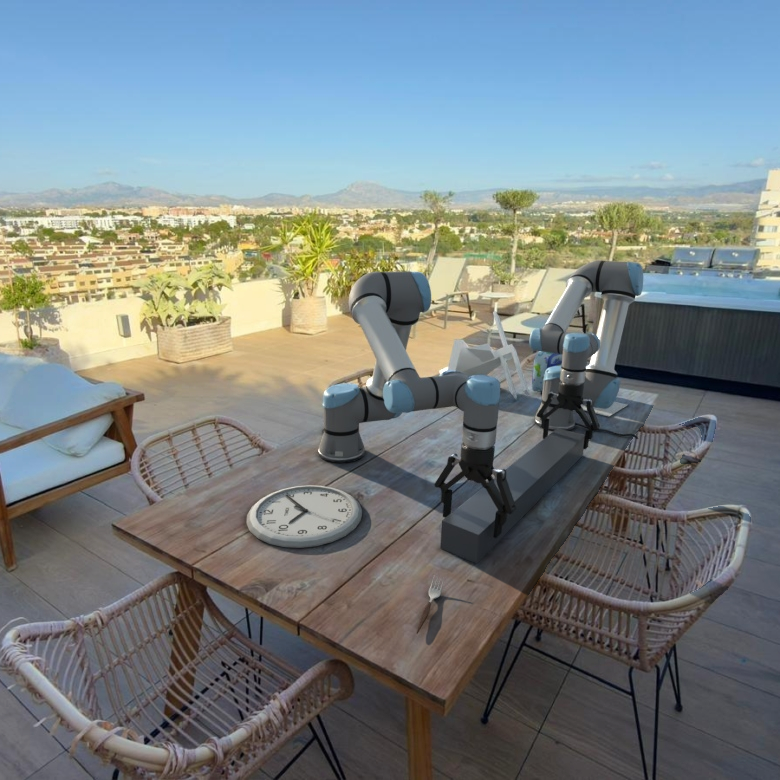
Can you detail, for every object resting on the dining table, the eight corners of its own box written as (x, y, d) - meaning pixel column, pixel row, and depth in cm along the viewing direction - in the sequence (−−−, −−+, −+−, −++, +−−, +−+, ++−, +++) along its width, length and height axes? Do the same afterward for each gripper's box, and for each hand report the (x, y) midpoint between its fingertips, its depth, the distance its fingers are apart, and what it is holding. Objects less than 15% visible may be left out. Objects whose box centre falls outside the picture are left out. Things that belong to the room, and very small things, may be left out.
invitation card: (608, 416, 214) (573, 407, 224) (608, 416, 214) (573, 408, 224) (628, 404, 229) (594, 396, 238) (628, 405, 229) (594, 397, 238)
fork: (410, 633, 98) (410, 625, 97) (432, 582, 112) (433, 574, 112) (423, 637, 97) (423, 628, 96) (444, 585, 111) (445, 577, 111)
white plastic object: (461, 429, 252) (437, 405, 227) (444, 352, 274) (420, 323, 250) (535, 404, 240) (518, 377, 215) (510, 326, 262) (492, 293, 237)
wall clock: (364, 539, 124) (235, 543, 122) (364, 545, 125) (236, 550, 122) (360, 481, 153) (256, 483, 150) (360, 486, 153) (256, 488, 151)
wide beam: (554, 448, 183) (557, 428, 180) (582, 455, 177) (585, 434, 175) (440, 548, 125) (441, 520, 122) (476, 563, 119) (478, 534, 117)
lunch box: (548, 398, 236) (553, 353, 229) (527, 393, 243) (531, 349, 237) (575, 387, 253) (581, 344, 247) (555, 382, 260) (560, 341, 254)
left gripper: (423, 434, 122) (419, 513, 129) (523, 465, 108) (513, 552, 115) (439, 425, 128) (435, 501, 135) (537, 453, 114) (526, 536, 121)
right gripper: (530, 377, 172) (524, 437, 178) (609, 392, 157) (600, 456, 164) (538, 372, 177) (533, 430, 184) (615, 386, 163) (606, 448, 170)
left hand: (471, 524), depth 125 cm, fingers open, 13 cm apart
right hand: (564, 442), depth 174 cm, fingers open, 13 cm apart
